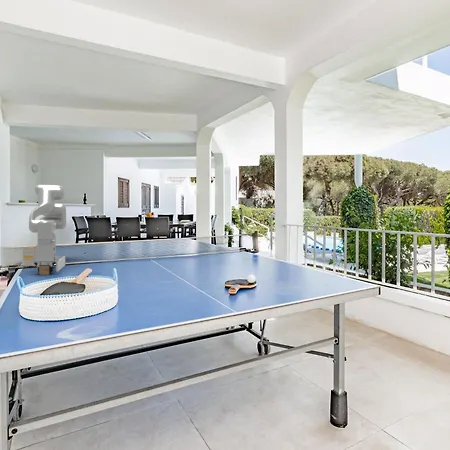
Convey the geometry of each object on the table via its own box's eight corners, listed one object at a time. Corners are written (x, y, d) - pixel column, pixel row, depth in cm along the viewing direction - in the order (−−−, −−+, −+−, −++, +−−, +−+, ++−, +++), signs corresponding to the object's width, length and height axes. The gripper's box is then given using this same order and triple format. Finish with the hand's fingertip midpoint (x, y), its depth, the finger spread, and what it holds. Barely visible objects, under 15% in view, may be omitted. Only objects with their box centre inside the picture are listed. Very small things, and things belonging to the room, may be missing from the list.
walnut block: (41, 273, 201) (41, 264, 201) (50, 273, 202) (50, 264, 202) (39, 275, 196) (39, 266, 196) (48, 274, 197) (48, 266, 197)
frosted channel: (47, 265, 226) (47, 256, 226) (65, 265, 229) (65, 256, 229) (37, 272, 203) (37, 262, 203) (57, 271, 206) (57, 262, 206)
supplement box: (39, 265, 225) (38, 245, 224) (34, 267, 220) (34, 246, 219) (27, 265, 226) (27, 245, 225) (22, 266, 221) (21, 246, 220)
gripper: (62, 241, 204) (62, 271, 205) (30, 241, 200) (30, 272, 201) (59, 242, 197) (60, 274, 198) (26, 243, 193) (27, 275, 194)
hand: (45, 273), depth 200 cm, fingers closed on walnut block, 5 cm apart
